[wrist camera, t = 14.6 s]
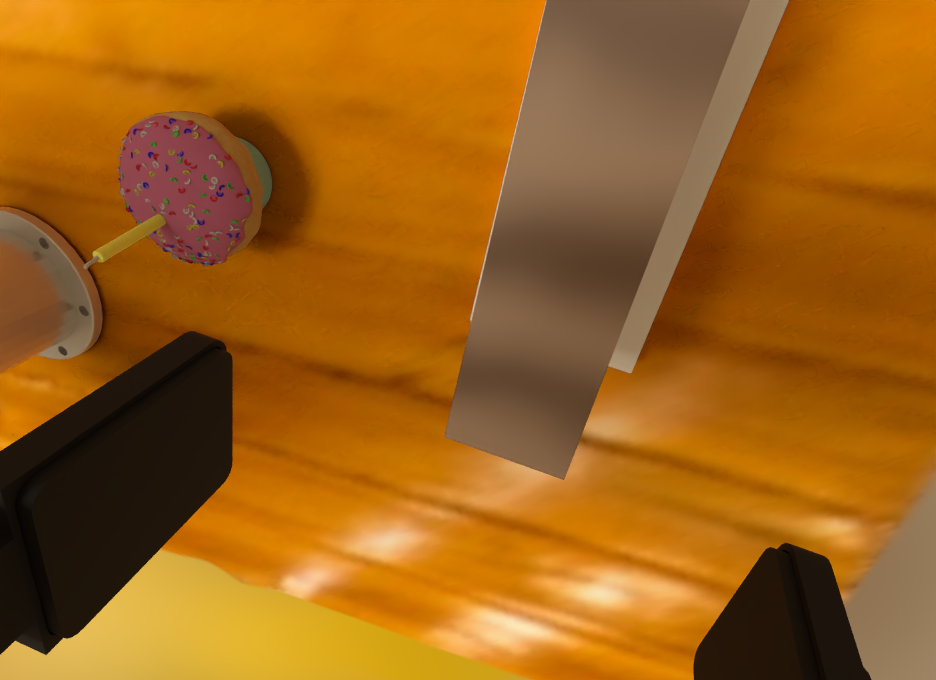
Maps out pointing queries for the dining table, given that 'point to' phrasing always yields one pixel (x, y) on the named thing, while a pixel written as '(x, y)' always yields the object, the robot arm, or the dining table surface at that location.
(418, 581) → the dining table surface
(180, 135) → the cupcake
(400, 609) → the dining table surface
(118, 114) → the dining table surface
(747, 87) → the peg stand
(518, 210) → the wooden block
